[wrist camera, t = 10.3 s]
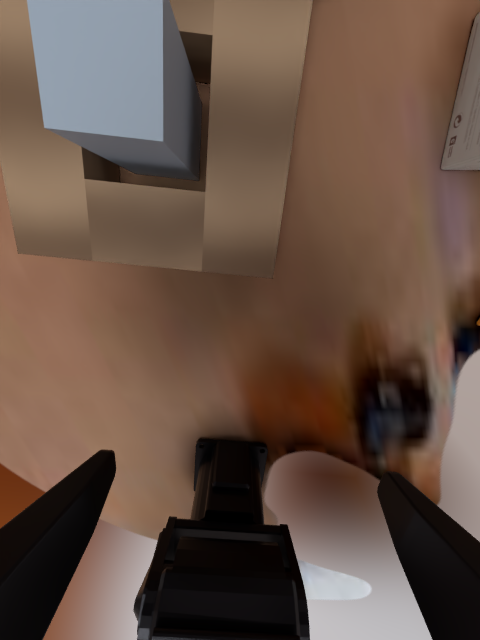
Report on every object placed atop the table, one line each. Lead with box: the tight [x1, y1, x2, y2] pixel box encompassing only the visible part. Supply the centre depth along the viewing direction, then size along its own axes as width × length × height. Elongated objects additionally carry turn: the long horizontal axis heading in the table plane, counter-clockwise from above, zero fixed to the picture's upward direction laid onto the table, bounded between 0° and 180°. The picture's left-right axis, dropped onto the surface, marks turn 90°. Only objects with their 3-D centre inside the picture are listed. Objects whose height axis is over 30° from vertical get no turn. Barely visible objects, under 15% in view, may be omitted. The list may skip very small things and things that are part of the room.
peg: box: [27, 0, 202, 181], centre depth 12 cm, size 4×4×8 cm
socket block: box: [0, 0, 313, 279], centre depth 14 cm, size 14×14×4 cm
